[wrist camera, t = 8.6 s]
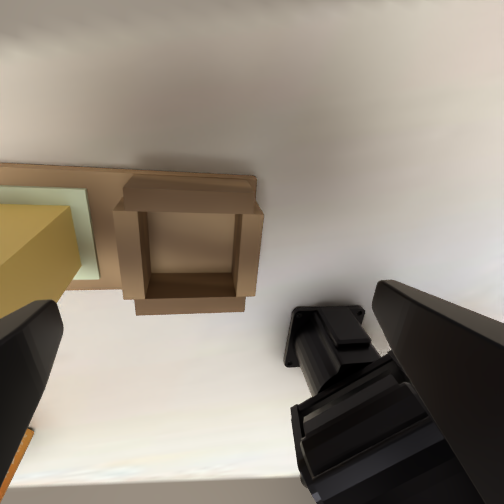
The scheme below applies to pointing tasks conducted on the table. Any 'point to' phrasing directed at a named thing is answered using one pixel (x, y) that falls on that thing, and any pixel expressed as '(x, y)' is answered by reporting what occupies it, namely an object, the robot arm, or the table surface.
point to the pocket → (186, 284)
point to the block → (35, 254)
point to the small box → (16, 462)
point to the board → (102, 223)
